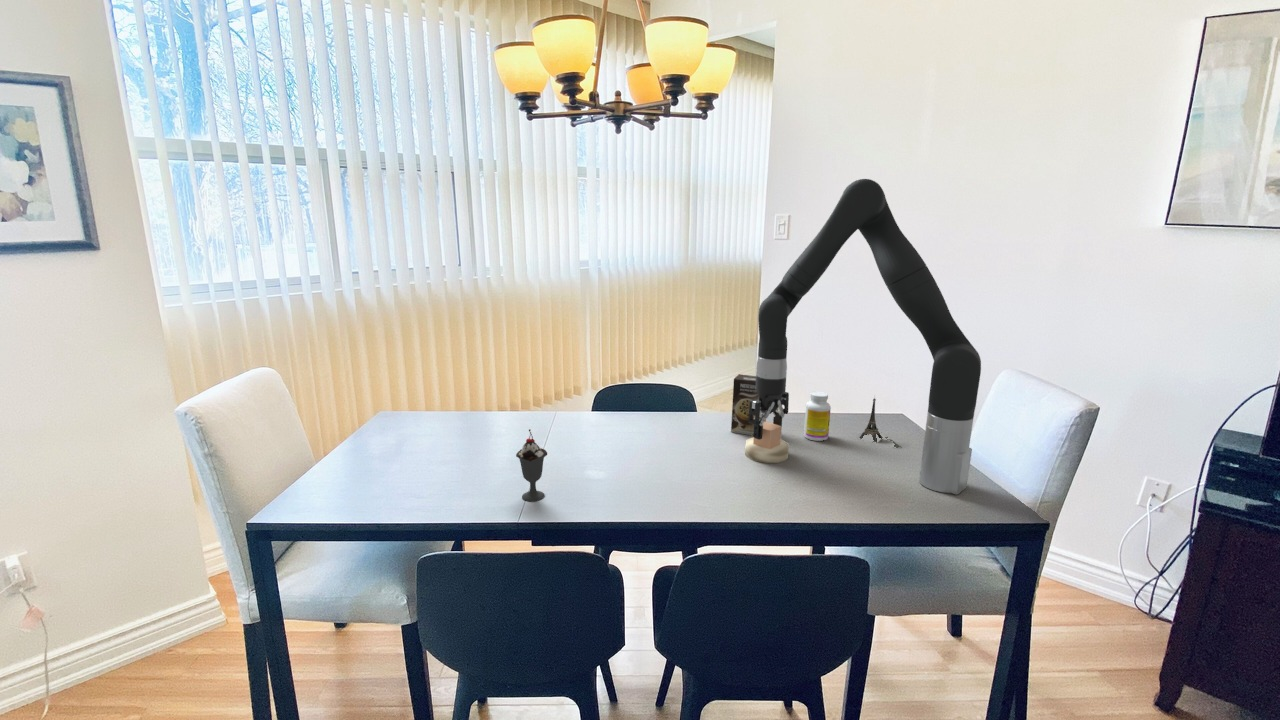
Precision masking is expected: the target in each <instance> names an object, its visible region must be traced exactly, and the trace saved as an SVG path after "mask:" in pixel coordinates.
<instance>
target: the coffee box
mask: <svg viewBox="0 0 1280 720" xmlns="http://www.w3.org/2000/svg"><path fill="white" fill-rule="evenodd" d="M755 385H756V375H750V374H748V375H747V374H738V375H736V376H735V377H734V378H733V385H732V387H733V388H732V389H733V390H732V391H733V392H732V406H731V407H732V408H731V427H730V432H731V433H734V434H735V433H736V434H743V435H748V436H753V433H754V432H753V431H754V425H753V424H751V423H748V417H749V406H750V401H751V400H754V401H757V400H758V397H759V394H758V393H757V392H756V390H755ZM760 413H762V412H761V410H760ZM754 416H755V415H753V419H754ZM760 419H761V417H759V421H760ZM765 421H766V422H767V419H765ZM765 421H764V422H765Z"/></svg>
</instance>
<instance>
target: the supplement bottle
mask: <svg viewBox="0 0 1280 720" xmlns="http://www.w3.org/2000/svg"><path fill="white" fill-rule="evenodd" d="M809 395H810V396H809V398H810V400H809V401H807V402H806V404H805V413H804V426H803V428H804V429H803V436H804V437H805V438H806V439H807V440H811V441H813V442H814V441H816V442H822V441H823V440H824V441H826V440H827V439H828V438H829V433H830V421H831V420H830V419H831V409H832V407H831V405H830V403H828V402H827V401H828V399H829V394H828V393H826V392H823V391H812V392H810V394H809ZM824 441H823V442H824Z"/></svg>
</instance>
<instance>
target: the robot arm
mask: <svg viewBox="0 0 1280 720" xmlns="http://www.w3.org/2000/svg"><path fill="white" fill-rule="evenodd" d="M857 230H858V231H859V232H860V234H861V235H862V237H863V239H864V240H865V241H866V243H867V244H868V246H869V248H870V250H871V252H872V255H873V258H874V260H875V263H876V266H877V268H878V271H879V273H880V275H881V278H882V280H883V282H884V285H885V286H886V287H887V290H888V291H889V293H890V295H891V297H892V298H893V300H894V302H895V303H896V305H898V307H899V309H900V310H901V311H902V312H903V314H905V316H906V317H907V318H908V319H909V320H910V321H911V323H912V324H913V325H914V326H915V328H917V329H918V331H919V332H920V334H921V335H922V337H923V339H924V342H925V343H926V345H927V348H928V349H929V352H930V353H931V356H932V359H933V364H932V370H931V377H930V385H929V395H928V406H927V407H928V408H927V414H926V415H927V416H926V422H925V431H924V438H923V447H922V454H921V463H920V470H919V477H918V478H919V483H920V485H922V486H923V487H925V488H927V489H930V490H932V491H935V492H939V493H945V494H954V495H959V494H960V493H961V492H963V491H964V490H965V489H966V488H967V486H968V480H969V474H970V473H969V472H970V466H971V460H972V452H973V449H972V447H970V446H971V438H972V433H973V432H972V431H973V426H974V425H973V424H974V417H975V411H976V407H977V399H978V395H979V394H978V392H979V386H980V380H981V372H982V360H981V356H980V353H979V352H978V351H977V349H976V348H975V347H974V346H973V344H972V343H971V342H970V341H969V339H968V338H967V336H966V335H965V334H964V332H963V331H962V330H961V329H960V327H959V326H958V324H957V323H956V321H955V320H954V318H953V316H952V314H951V310H950V309H949V307H948V305H947V303H946V300H945V298H944V295H943V293H942V291H941V289H940V287H939V285H938V283H937V282H936V279H935V278H934V276H933V275H932V272H931V271H930V269H929V267H928V266H927V264H926V262H925V261H924V259H923V258H922V257H921V254H919V252H918V250H917V249H916V248H915V247H914V246H913V244H912V243H911V242H910V240H909V239H908V238H907V237H906V235H905V234H904V233H903V232H902V230H901V229H900V226H899V225H898V223H897V221H896V219H895V216H894V215H893V213H892V211H891V208H890V206H889V204H888V201H887V198H886V194H885V192H884V190H883V188H882V187H881V185H880V184H879V183H878V182H876V181H875V180H873V179H870V178H860V179H858V180H857V179H856V180H855V181H853V182H851V183H850V184H848V185H847V186H846V187H845V189H844V190H843V192H842V195H841V196H840V198H839V200H838V202H837V203H836V205H835V207H834V209H833V210H832V212H831V213H830V216H829V217H828V219H827V220H826V221H825V223H824V225H822V227H821V229H820V231H819V232H818V233H817V234H816V235H815V237H814V238H813V239H812V240H811V242H810V243H809V244H808V245H807V247H806V248H804V250H803V251H802V252H801V254H800V255H799V256H798V257H797V258H796V260H795V261H794V262H793V264H791V266H790V267H789V268H788V270H787V271H786V272H785V274H784V275H783V277H782V279H781V281H780V282H779V283H778V284H777V286H776V287H775V288H774V289H773V291H772V292H771V293H770V294H769V295H768V296H767V297H766V298H765V299H764V300H762V302H761V303H760V304H759V309H758V318H757V319H758V320H757V321H758V334H759V340H758V349H757V350H758V352H757V361H756V370H755V372H756V373H755V376H756V385H755V390H756V392H757V393H758V394H759V397H758V400H757V401H754V400H751V401H750V406H749V417H748V423H751V424H753V425H754V431H753V432H754V433H753V435H752V436H753V437H754V438H756V439H759V440H760V439H762V433H763V423H764V421H765V419H766V420H767V419H768V418H769V416H770V415H771V414H773V419H772V423H773V424H776V425H779V426H782V427H783V419H784V417H785V414H786V415H788V413H789V399H790V398H789V397H790V396H789V395H790V393H789V392H787V391H786V387H787V374H788V373H787V371H788V363H787V362H788V361H787V358H788V357H787V356H788V338H787V326H788V317H789V316H790V315H791V314H792V312H793V311H794V309H795V308H796V307H797V305H798V304H799V302H800V301H801V300H802V299H803V297H804V296H805V295H807V293H808V292H810V290H811V289H812V288H813V287H814V285H816V283H817V282H818V281H819V279H820V278H821V277H822V276H823V275H824V273H825V272H826V271H827V269H828V267H829V266H830V265H831V263H832V262H833V260H834V259H835V257H836V256H837V254H838V253H839V251H840V250H841V248H842V247H843V246H844V244H846V242H847V241H848V240H849V239H850V238H851V236H852V235H853V234H854V233H856V232H857ZM760 410H761V412H762V413H760ZM753 415H755V416H754V419H753ZM759 417H761V419H760V421H759Z"/></svg>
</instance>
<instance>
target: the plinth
mask: <svg viewBox="0 0 1280 720" xmlns="http://www.w3.org/2000/svg"><path fill="white" fill-rule="evenodd" d="M753 439H754V436H753V437H750V438H748V439H746V441H745V448H744V453H745V454H744V455H745V456H746V458H748V459H749V460H752V461H755V462H758V463H763V464H779V463H783V462H786V461H787V460H788V459H789V451H790V450H789V448H790V446H789V443H788V442H787V441H785V440H783V439H781V444H780V445H778V446H776V447H773V448H771V449H767V448H764V447H761V446H758V445H755V444H753Z"/></svg>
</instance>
